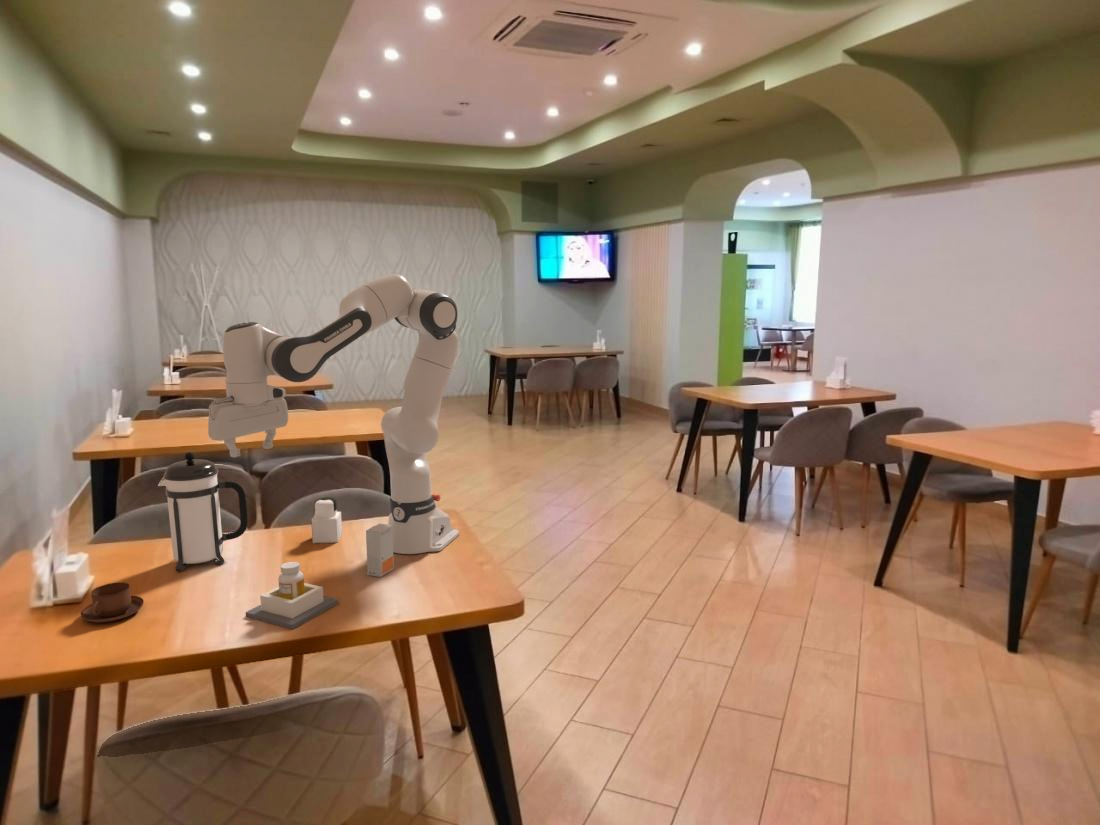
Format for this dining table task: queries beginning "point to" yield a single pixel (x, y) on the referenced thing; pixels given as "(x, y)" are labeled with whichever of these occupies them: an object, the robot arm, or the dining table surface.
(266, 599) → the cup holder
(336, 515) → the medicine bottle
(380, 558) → the skincare box
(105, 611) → the cup and saucer
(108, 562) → the dining table surface
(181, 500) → the coffee press
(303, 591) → the supplement bottle
